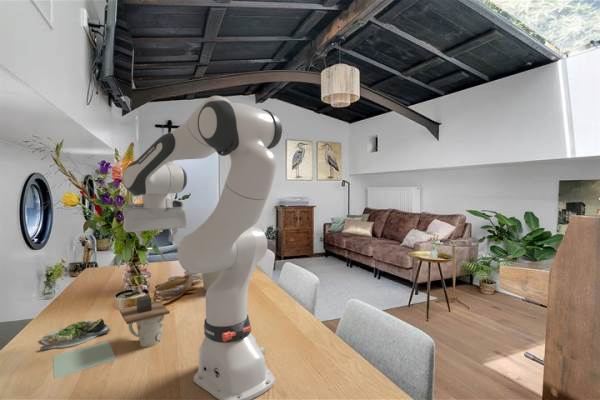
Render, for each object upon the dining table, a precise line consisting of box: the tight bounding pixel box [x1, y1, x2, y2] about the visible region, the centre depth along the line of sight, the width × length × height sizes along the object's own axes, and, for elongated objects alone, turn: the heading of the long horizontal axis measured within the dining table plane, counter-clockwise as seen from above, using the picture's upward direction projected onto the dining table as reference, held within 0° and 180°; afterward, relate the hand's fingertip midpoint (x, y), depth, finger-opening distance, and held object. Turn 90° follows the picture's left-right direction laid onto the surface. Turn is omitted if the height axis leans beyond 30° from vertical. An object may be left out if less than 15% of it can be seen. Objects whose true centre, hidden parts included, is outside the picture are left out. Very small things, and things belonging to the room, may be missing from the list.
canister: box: [201, 270, 222, 292], centre depth 151 cm, size 18×18×21 cm
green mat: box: [52, 340, 117, 379], centre depth 90 cm, size 14×14×1 cm
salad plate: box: [39, 318, 112, 351], centre depth 102 cm, size 19×18×5 cm
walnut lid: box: [119, 295, 170, 325], centre depth 99 cm, size 12×12×5 cm
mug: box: [128, 315, 165, 348], centre depth 99 cm, size 8×13×10 cm, turn 78°
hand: (157, 242), depth 106 cm, fingers open, 8 cm apart
